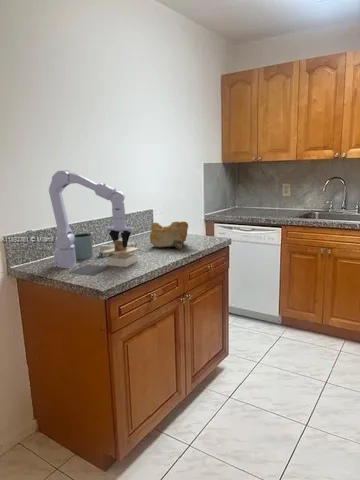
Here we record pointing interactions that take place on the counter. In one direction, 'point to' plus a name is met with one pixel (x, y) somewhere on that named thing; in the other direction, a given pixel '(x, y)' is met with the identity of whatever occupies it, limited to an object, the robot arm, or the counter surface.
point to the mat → (90, 270)
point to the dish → (122, 260)
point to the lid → (120, 248)
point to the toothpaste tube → (105, 247)
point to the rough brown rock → (169, 235)
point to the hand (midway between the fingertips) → (121, 246)
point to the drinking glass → (83, 245)
